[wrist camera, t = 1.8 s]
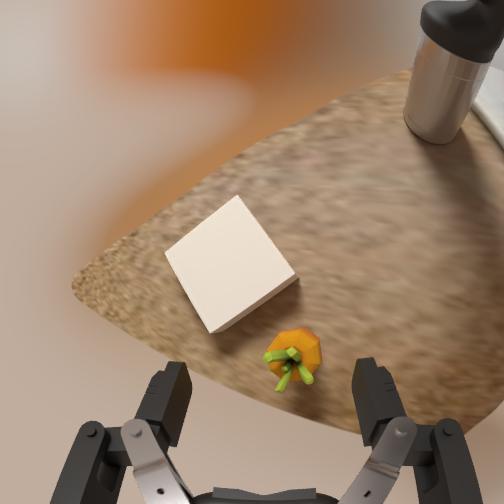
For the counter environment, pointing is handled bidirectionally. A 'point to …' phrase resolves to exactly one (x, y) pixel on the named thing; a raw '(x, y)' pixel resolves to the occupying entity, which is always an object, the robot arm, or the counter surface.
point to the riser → (229, 266)
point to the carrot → (294, 356)
